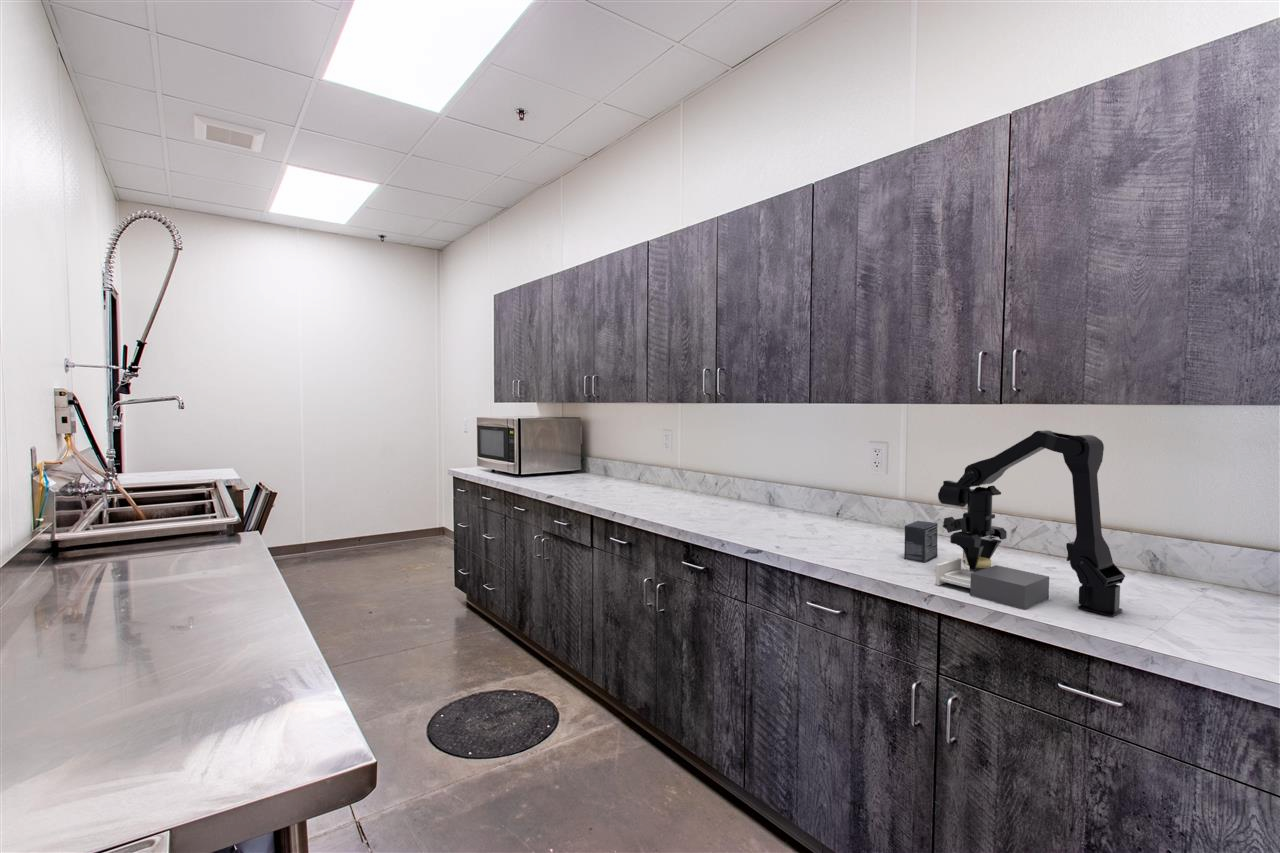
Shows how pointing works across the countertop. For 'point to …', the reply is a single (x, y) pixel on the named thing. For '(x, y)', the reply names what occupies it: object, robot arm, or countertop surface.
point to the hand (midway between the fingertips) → (978, 567)
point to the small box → (921, 541)
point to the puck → (977, 569)
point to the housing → (1010, 586)
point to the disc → (982, 563)
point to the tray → (953, 573)
